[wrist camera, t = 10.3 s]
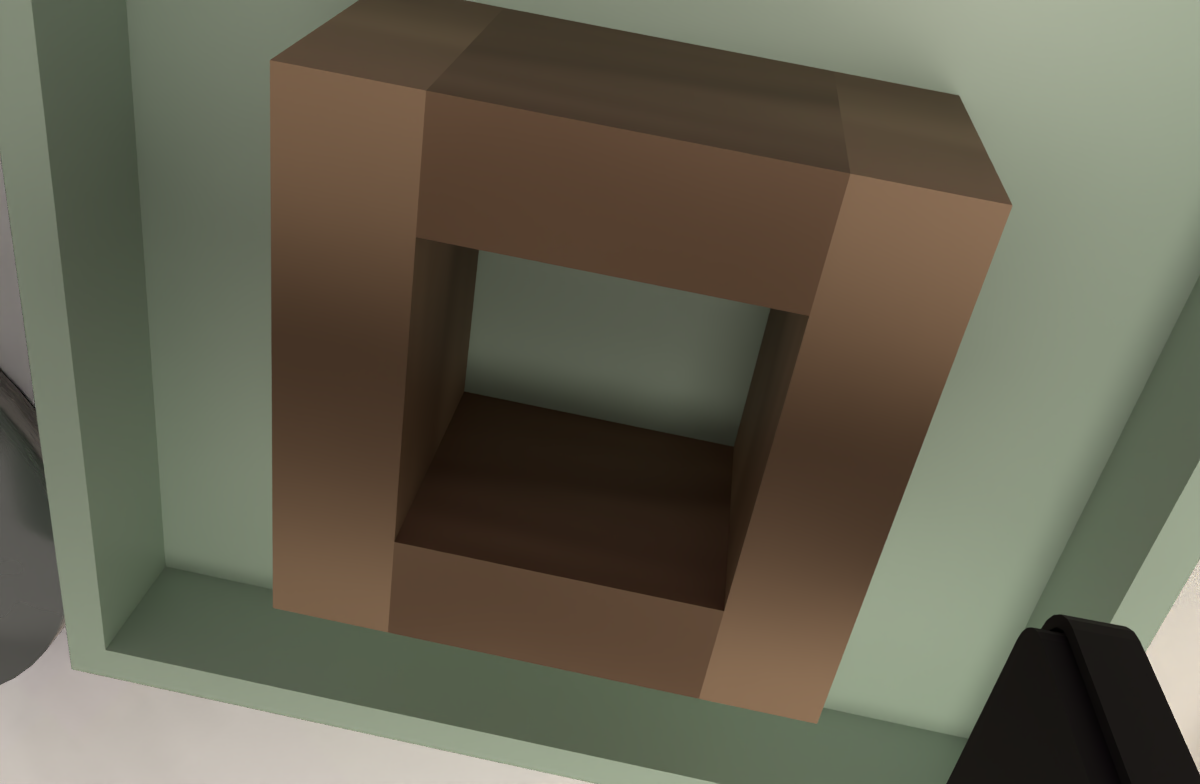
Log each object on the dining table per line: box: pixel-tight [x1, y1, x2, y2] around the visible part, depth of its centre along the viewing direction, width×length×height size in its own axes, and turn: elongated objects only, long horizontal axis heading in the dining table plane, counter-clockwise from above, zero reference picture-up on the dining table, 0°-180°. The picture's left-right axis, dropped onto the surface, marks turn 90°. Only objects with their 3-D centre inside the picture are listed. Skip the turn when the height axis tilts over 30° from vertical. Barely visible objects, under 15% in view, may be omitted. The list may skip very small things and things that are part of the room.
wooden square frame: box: [270, 0, 1013, 724], centre depth 14 cm, size 7×7×4 cm
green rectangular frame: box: [0, 0, 1200, 784], centre depth 14 cm, size 15×15×2 cm
